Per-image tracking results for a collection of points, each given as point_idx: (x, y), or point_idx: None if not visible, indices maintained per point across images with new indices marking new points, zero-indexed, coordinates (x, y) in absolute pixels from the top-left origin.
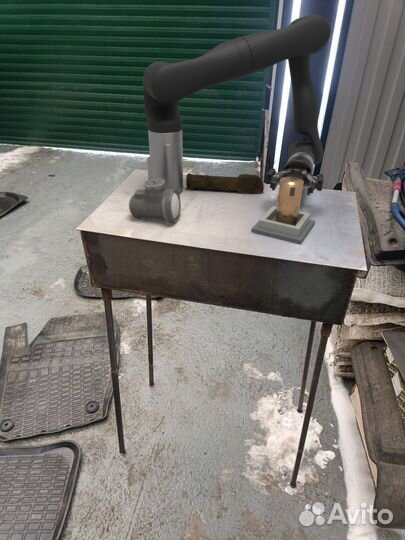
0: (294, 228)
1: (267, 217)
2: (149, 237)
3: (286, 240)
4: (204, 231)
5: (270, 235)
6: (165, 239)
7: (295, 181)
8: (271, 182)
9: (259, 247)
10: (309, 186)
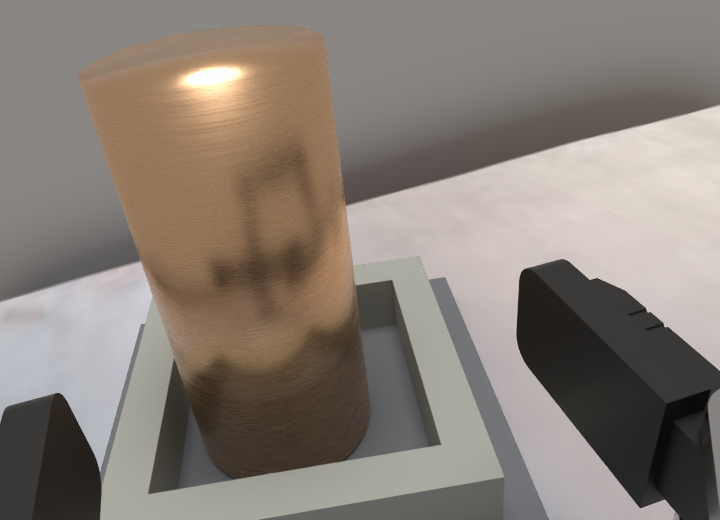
0: None
1: (399, 305)
2: (698, 114)
3: None
4: (619, 204)
5: None
6: (649, 128)
7: (166, 59)
8: (600, 288)
9: None
10: (33, 400)
